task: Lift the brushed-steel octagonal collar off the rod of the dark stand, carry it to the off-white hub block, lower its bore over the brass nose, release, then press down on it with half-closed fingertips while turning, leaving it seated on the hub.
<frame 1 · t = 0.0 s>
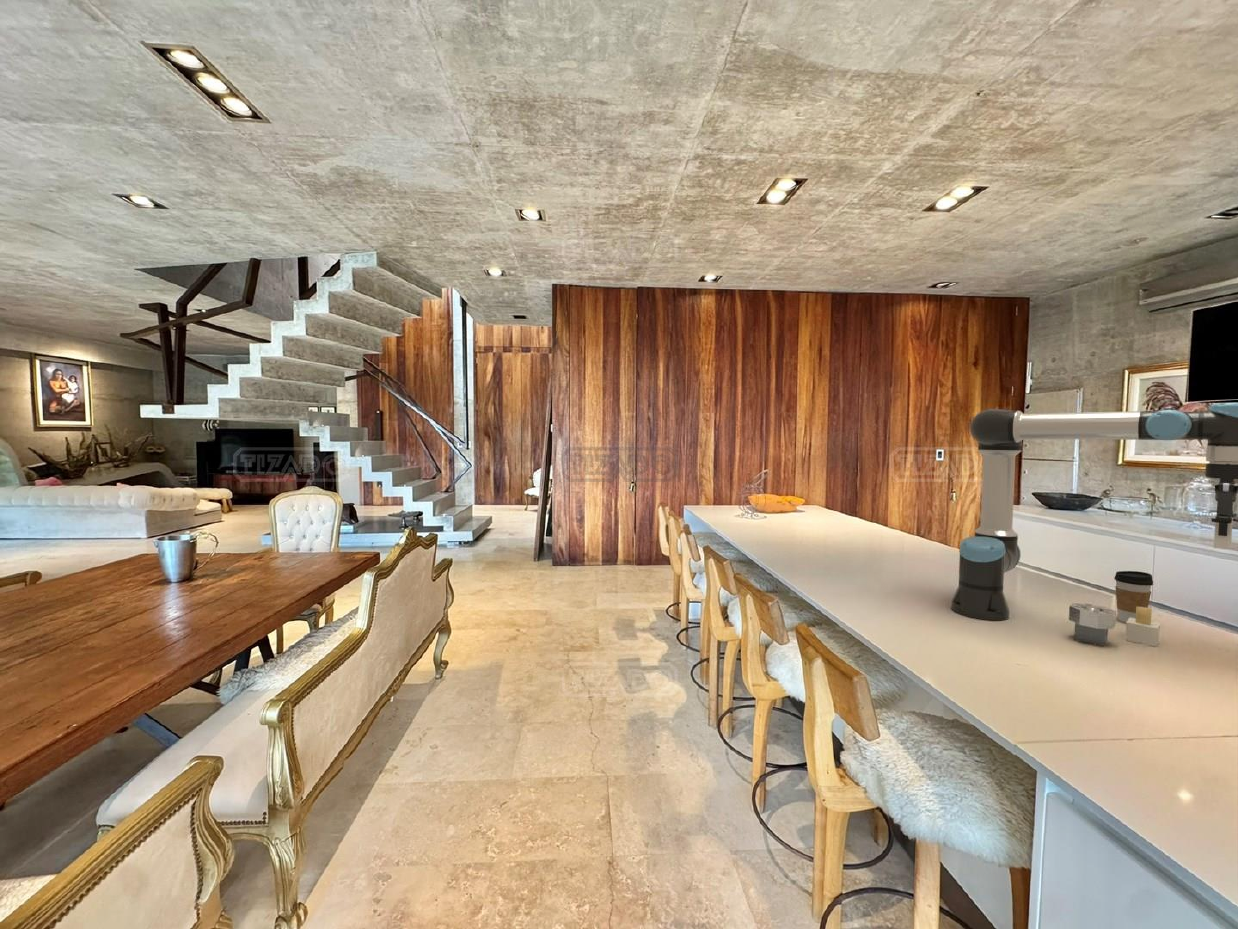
hand: (1222, 545, 135), 28 cm above the kitchen island, fingers open, 13 cm apart
hub: (1142, 640, 143), on the kitchen island
stand: (1090, 640, 143), on the kitchen island
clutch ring: (1091, 622, 143), point 5 cm above the kitchen island, touching stand
coffee cup: (1131, 622, 158), on the kitchen island
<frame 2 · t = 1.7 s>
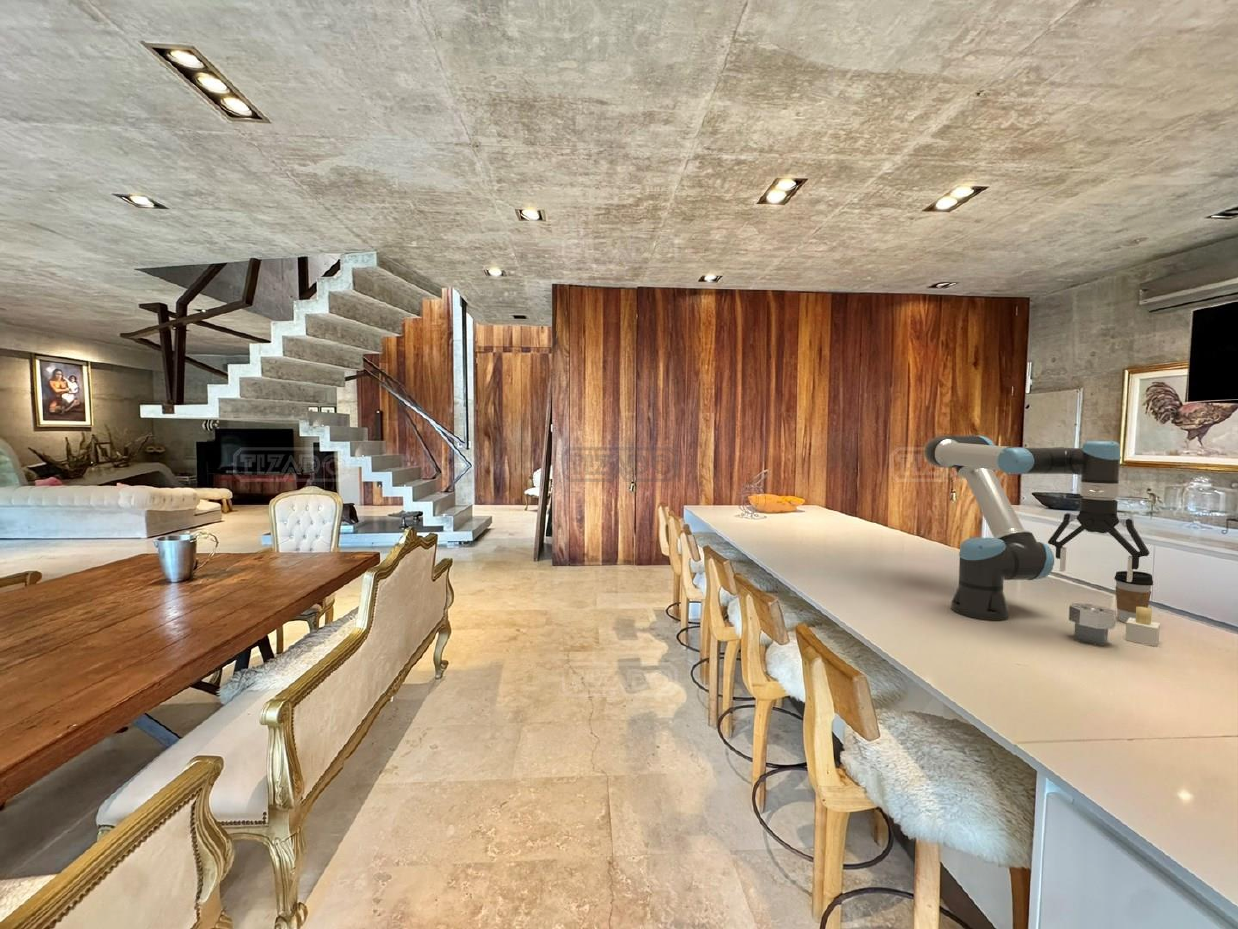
hand: (1094, 575, 142), 18 cm above the kitchen island, fingers open, 13 cm apart
nothing on the kitchen island moved.
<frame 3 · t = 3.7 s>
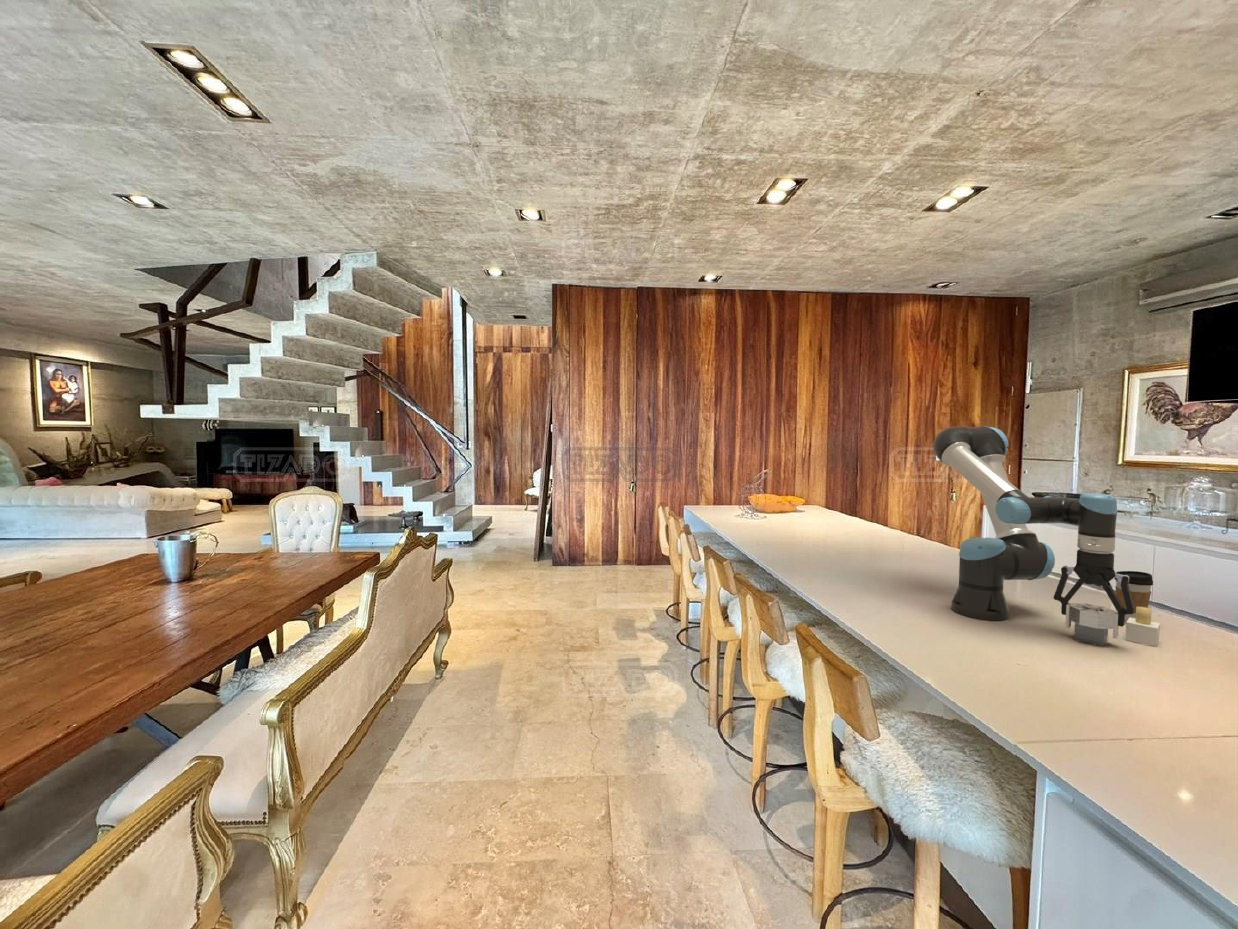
hand: (1091, 631, 143), 2 cm above the kitchen island, fingers closed on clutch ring, 9 cm apart
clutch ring: (1091, 622, 143), point 5 cm above the kitchen island, touching gripper, stand
everything else where it was.
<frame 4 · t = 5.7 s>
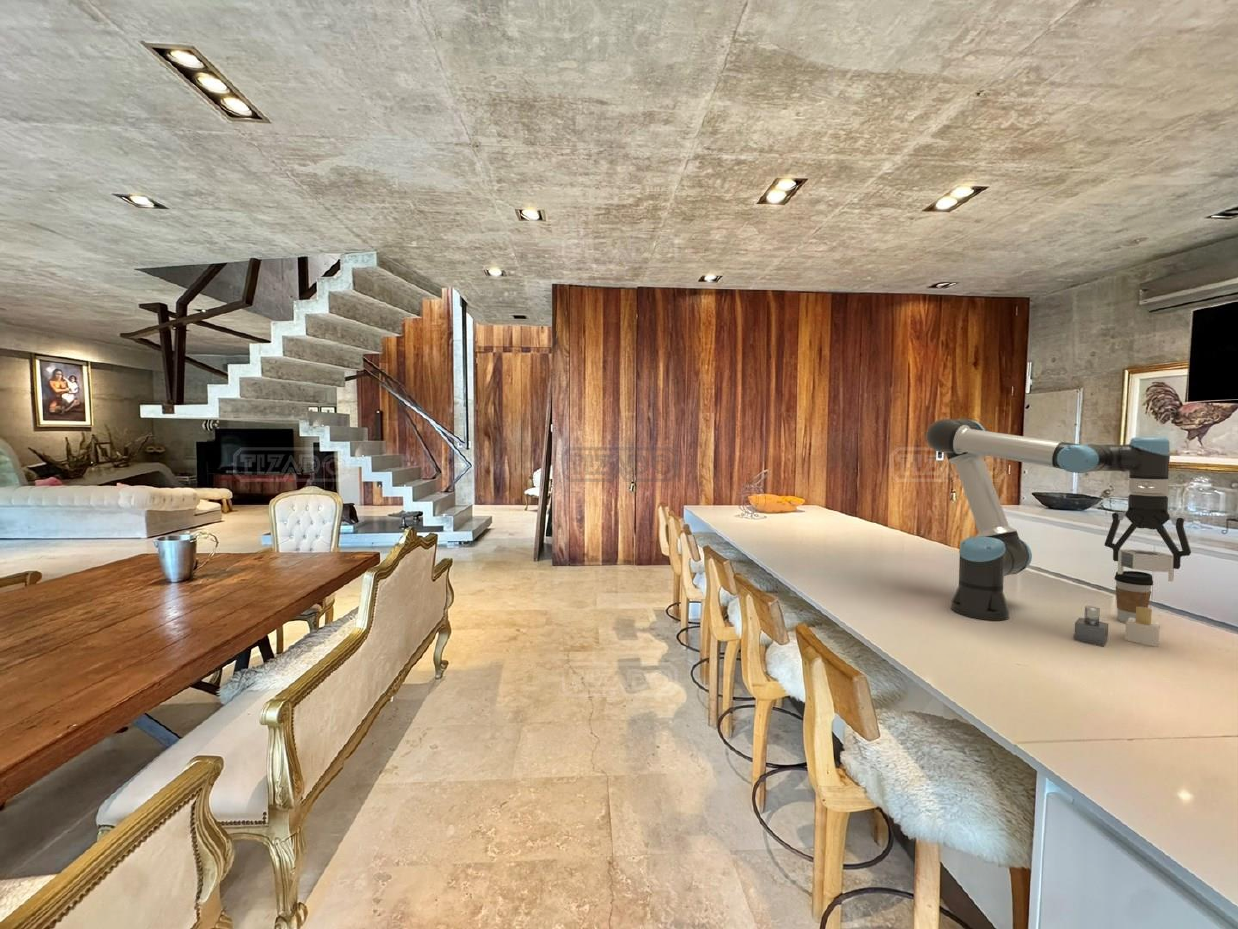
hand: (1144, 576, 142), 18 cm above the kitchen island, fingers closed on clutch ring, 9 cm apart
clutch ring: (1145, 567, 142), point 20 cm above the kitchen island, touching gripper
everything else where it was.
when the fingers open (4 cm above the kitchen island, at t = 8.0 s): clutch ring drops 1 cm, resting on hub.
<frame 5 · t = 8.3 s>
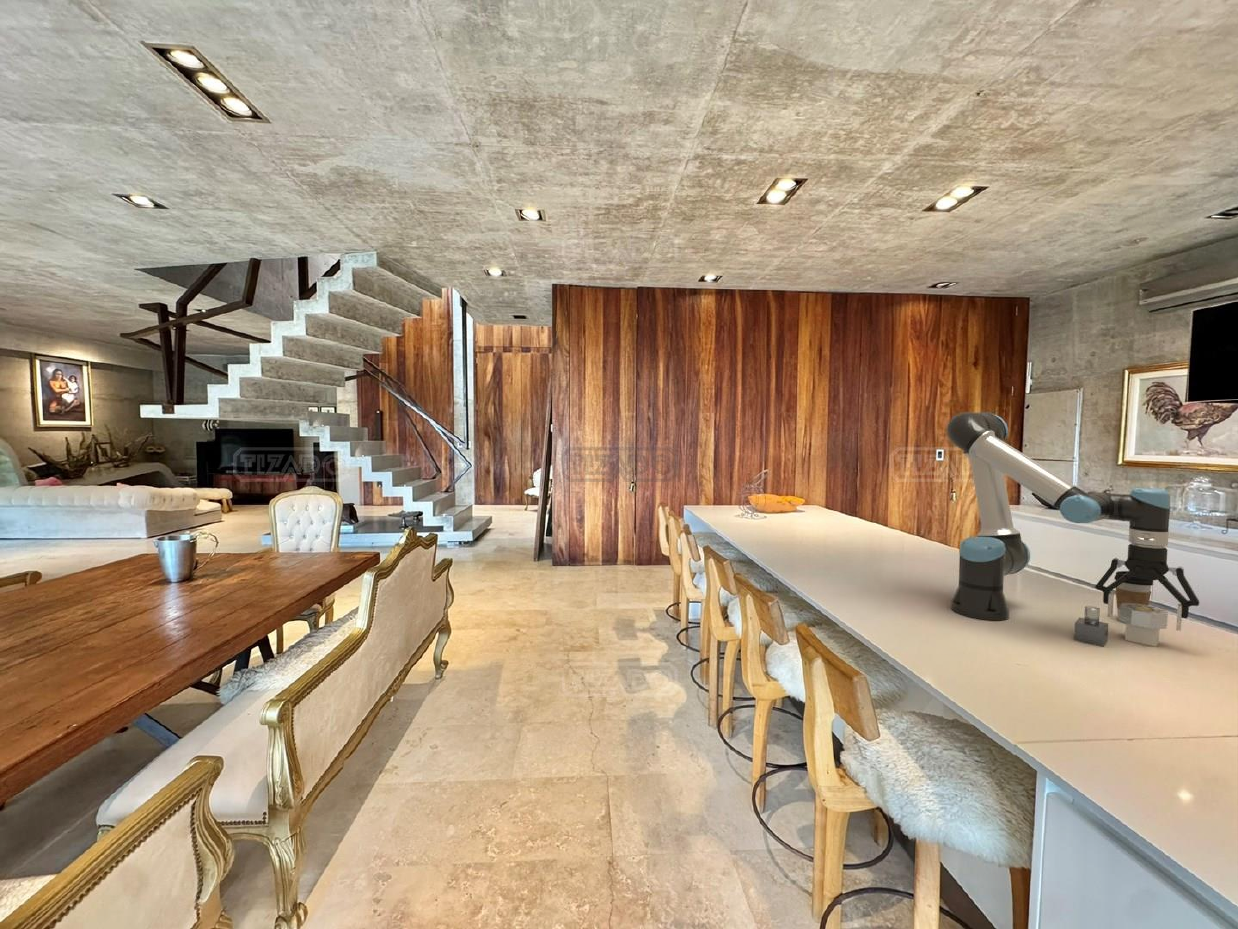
hand: (1143, 622, 143), 5 cm above the kitchen island, fingers open, 13 cm apart
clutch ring: (1142, 622, 143), point 5 cm above the kitchen island, touching hub
everything else where it was.
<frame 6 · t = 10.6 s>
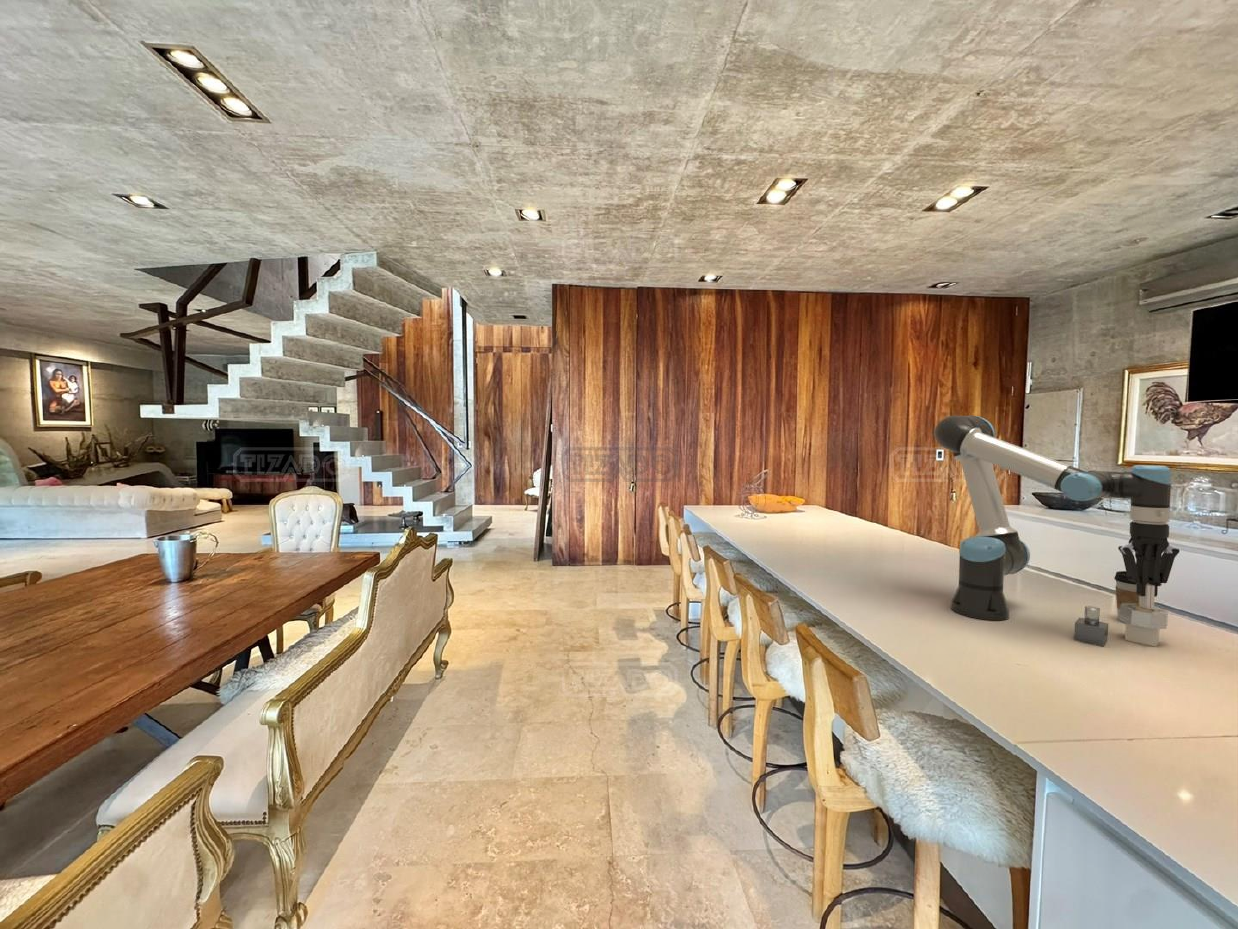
hand: (1146, 607, 143), 9 cm above the kitchen island, fingers closed
nothing on the kitchen island moved.
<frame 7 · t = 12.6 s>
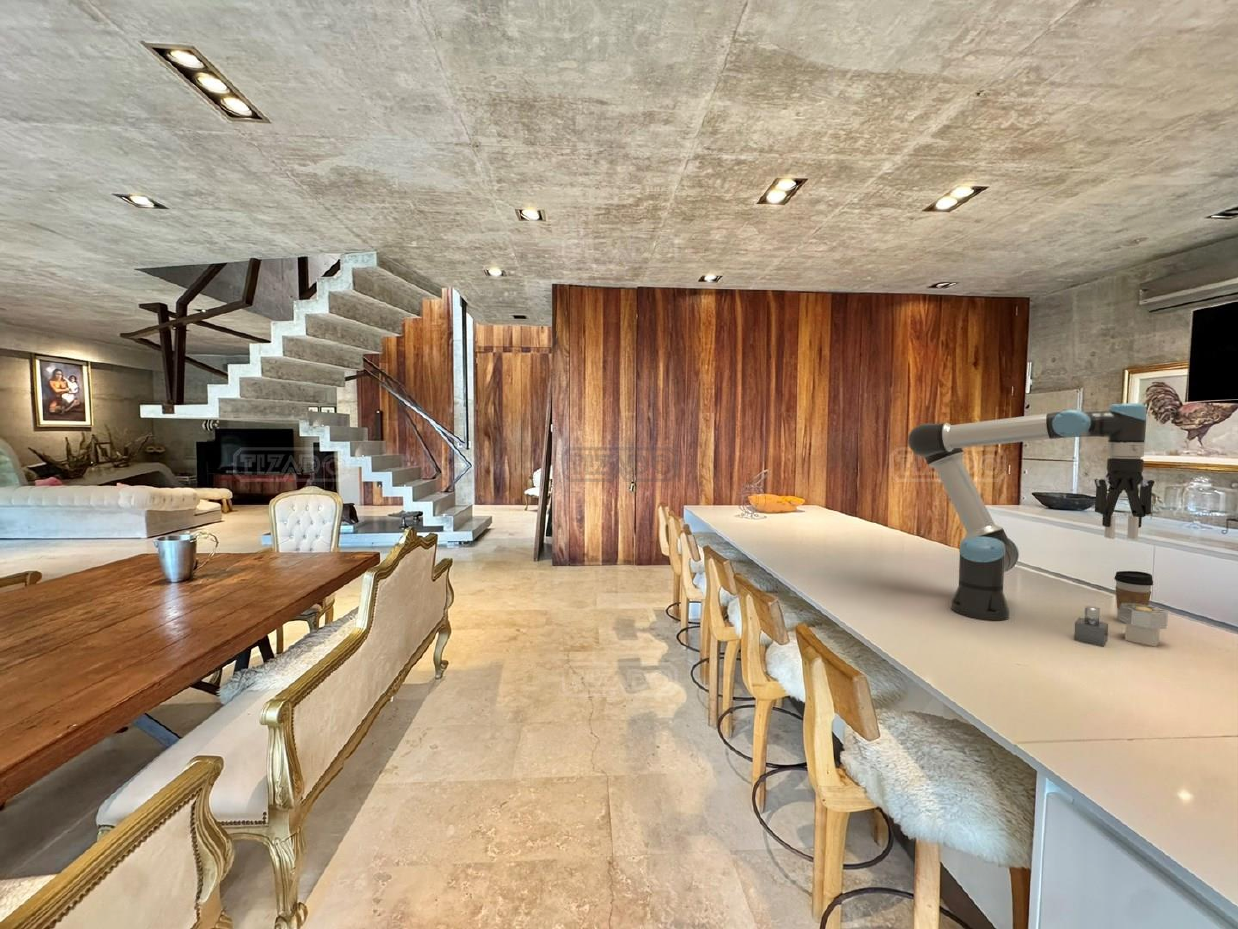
hand: (1120, 538, 150), 27 cm above the kitchen island, fingers open, 5 cm apart
nothing on the kitchen island moved.
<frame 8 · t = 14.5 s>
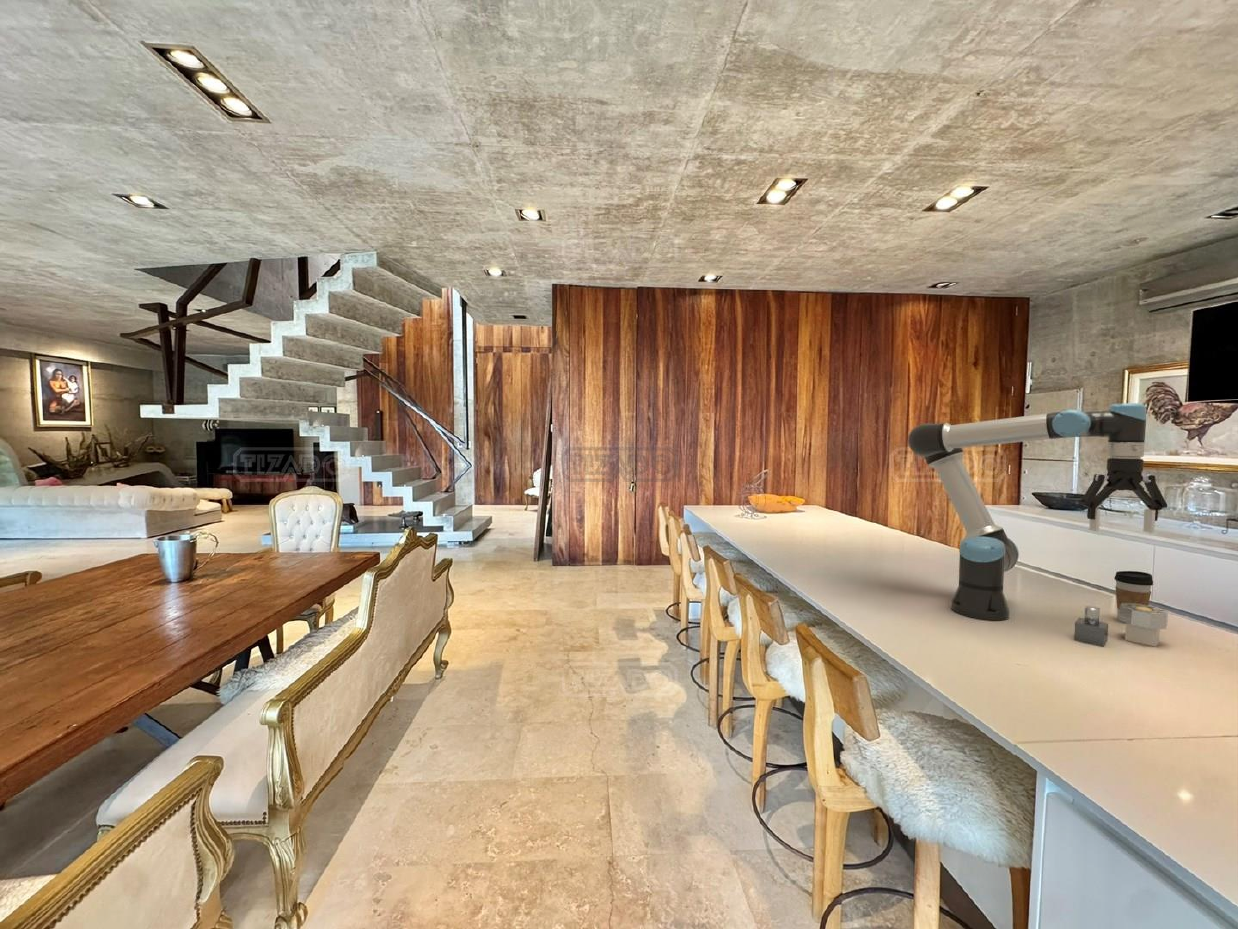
hand: (1121, 531, 150), 29 cm above the kitchen island, fingers open, 13 cm apart
nothing on the kitchen island moved.
at the end: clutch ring 0.1 cm off-centre on the hub, point 5.0 cm above the hub's base; the gripper is holding nothing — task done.
